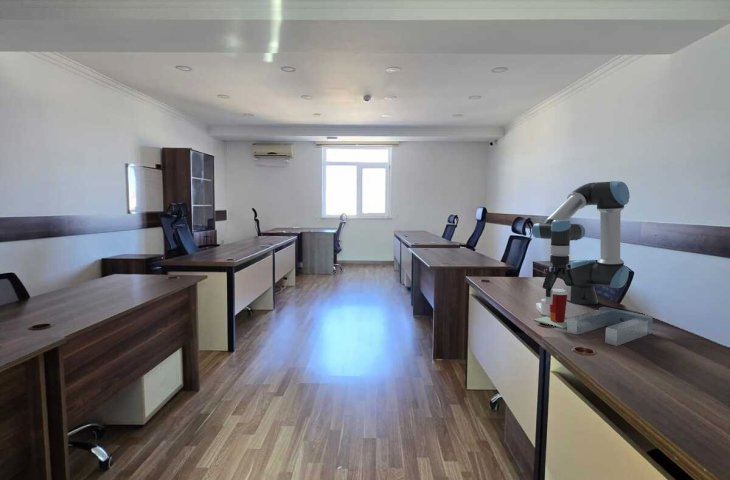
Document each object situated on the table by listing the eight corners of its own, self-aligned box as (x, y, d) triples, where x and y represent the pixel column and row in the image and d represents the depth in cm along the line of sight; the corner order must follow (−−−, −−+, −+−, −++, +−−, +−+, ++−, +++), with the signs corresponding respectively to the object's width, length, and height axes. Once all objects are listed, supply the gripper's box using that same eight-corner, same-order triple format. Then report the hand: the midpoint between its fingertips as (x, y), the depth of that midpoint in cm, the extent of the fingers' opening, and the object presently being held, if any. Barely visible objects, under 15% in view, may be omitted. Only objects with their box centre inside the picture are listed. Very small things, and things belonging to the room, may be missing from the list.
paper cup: (569, 320, 172) (570, 289, 171) (564, 324, 167) (565, 292, 166) (550, 317, 178) (551, 287, 176) (545, 320, 172) (546, 290, 171)
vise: (612, 318, 177) (613, 304, 176) (661, 329, 161) (662, 313, 160) (566, 332, 158) (567, 315, 157) (616, 346, 142) (617, 327, 141)
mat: (552, 316, 182) (552, 314, 182) (581, 323, 170) (581, 322, 170) (533, 320, 174) (533, 319, 174) (563, 328, 163) (563, 327, 162)
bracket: (563, 316, 178) (563, 302, 178) (542, 315, 180) (543, 301, 180) (553, 307, 197) (553, 294, 197) (535, 306, 199) (535, 294, 199)
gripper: (567, 252, 179) (566, 296, 181) (534, 256, 167) (533, 303, 168) (584, 253, 173) (582, 299, 175) (550, 257, 160) (549, 307, 162)
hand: (558, 301), depth 172 cm, fingers open, 13 cm apart
